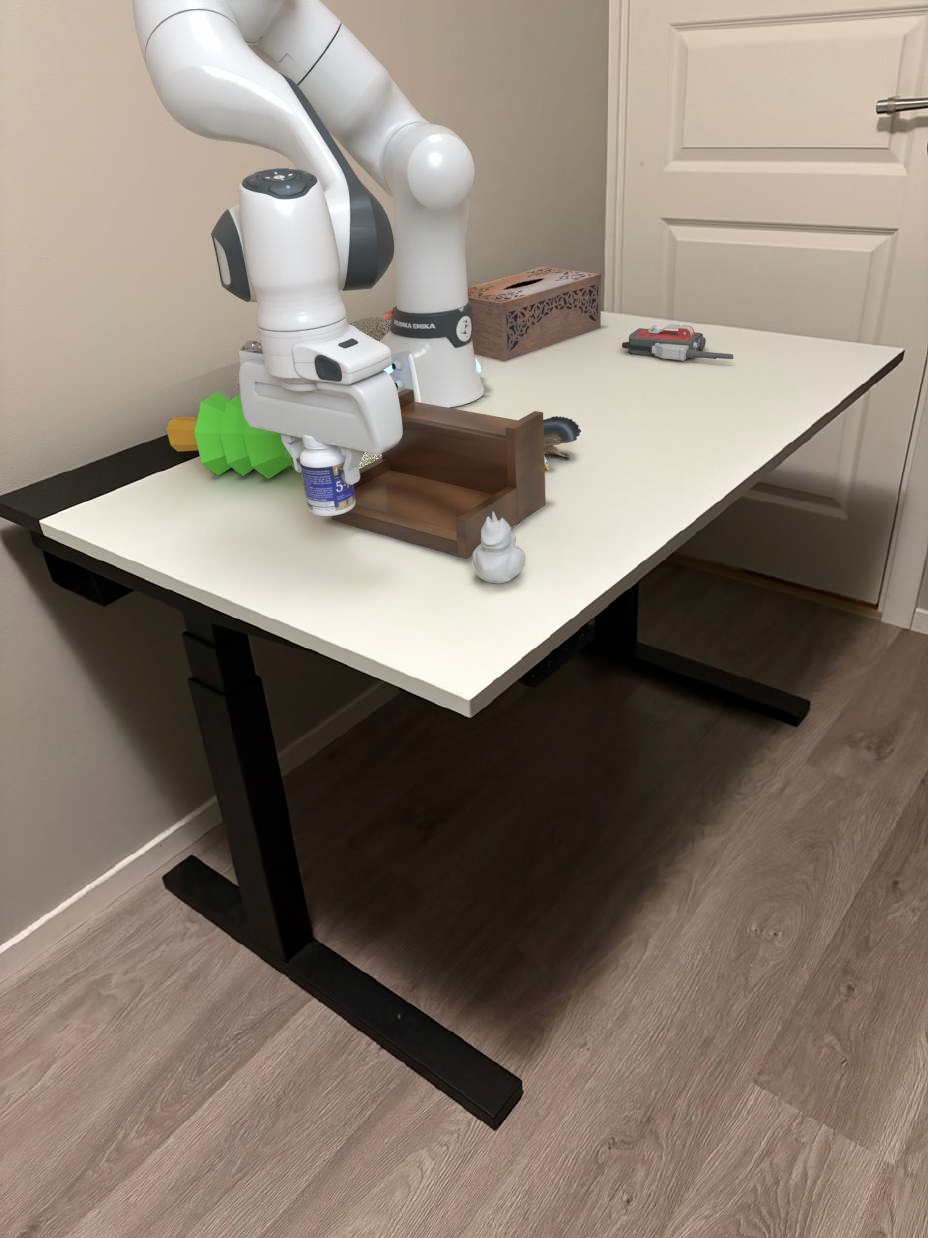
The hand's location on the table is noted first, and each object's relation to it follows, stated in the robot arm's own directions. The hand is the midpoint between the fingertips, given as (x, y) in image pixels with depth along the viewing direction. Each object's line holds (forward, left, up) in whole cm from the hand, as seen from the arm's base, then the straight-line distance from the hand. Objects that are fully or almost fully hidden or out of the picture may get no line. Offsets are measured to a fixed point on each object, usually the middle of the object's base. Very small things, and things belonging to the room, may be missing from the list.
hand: (327, 476), depth 102 cm
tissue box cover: (-29, +83, -10) cm, 88 cm away
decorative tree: (-23, +13, -9) cm, 28 cm away
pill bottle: (0, 0, -4) cm, 4 cm away
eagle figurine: (+7, +32, -9) cm, 34 cm away
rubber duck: (+19, +4, -9) cm, 22 cm away
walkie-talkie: (+2, +84, -9) cm, 84 cm away
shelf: (+4, +14, -9) cm, 17 cm away
